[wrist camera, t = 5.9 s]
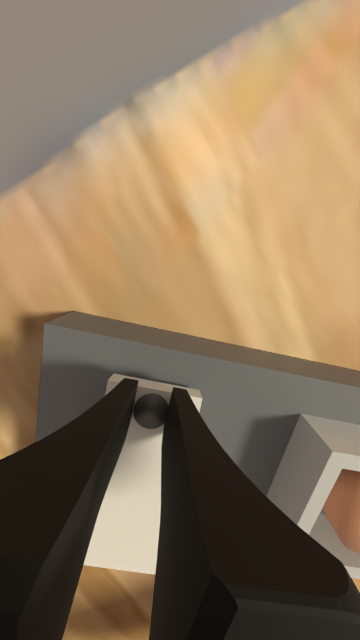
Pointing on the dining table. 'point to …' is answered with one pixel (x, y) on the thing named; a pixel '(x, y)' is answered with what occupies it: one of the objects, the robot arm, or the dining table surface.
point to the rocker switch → (135, 485)
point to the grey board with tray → (222, 406)
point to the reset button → (345, 508)
